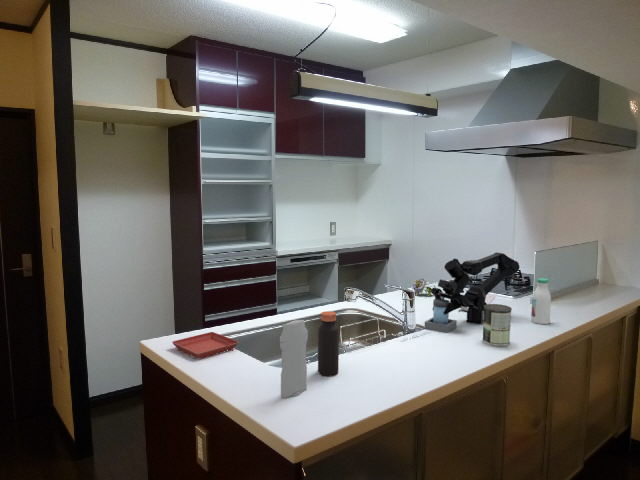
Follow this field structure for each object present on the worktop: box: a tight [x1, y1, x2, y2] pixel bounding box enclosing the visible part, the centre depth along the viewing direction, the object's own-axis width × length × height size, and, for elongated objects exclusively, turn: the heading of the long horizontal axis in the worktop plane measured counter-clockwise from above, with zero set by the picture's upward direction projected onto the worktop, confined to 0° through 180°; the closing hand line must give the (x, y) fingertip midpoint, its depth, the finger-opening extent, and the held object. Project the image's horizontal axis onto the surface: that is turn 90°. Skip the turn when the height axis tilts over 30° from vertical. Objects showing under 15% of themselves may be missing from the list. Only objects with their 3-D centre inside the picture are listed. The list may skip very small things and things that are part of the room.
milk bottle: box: [530, 277, 552, 325], centre depth 219 cm, size 8×8×20 cm
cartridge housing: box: [423, 316, 458, 333], centre depth 210 cm, size 10×10×3 cm
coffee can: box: [482, 303, 513, 347], centre depth 190 cm, size 10×10×14 cm
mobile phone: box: [457, 293, 497, 312], centre depth 243 cm, size 6×6×25 cm
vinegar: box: [317, 310, 340, 377], centre depth 157 cm, size 7×7×20 cm
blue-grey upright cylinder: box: [432, 298, 450, 325], centre depth 209 cm, size 7×7×12 cm
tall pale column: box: [279, 319, 309, 399], centre depth 141 cm, size 11×4×22 cm, turn 135°
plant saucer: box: [172, 331, 239, 359], centre depth 180 cm, size 18×18×3 cm
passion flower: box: [410, 277, 437, 297], centre depth 274 cm, size 11×11×12 cm
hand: (438, 312), depth 208 cm, fingers closed on blue-grey upright cylinder, 6 cm apart
